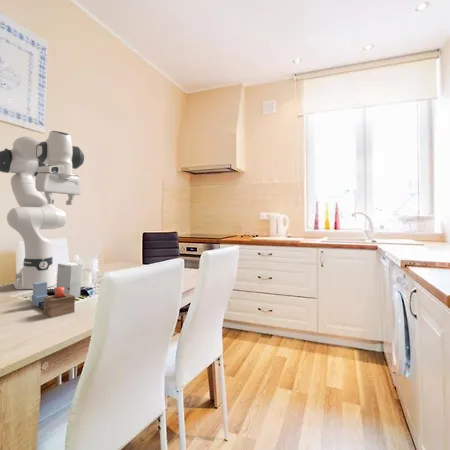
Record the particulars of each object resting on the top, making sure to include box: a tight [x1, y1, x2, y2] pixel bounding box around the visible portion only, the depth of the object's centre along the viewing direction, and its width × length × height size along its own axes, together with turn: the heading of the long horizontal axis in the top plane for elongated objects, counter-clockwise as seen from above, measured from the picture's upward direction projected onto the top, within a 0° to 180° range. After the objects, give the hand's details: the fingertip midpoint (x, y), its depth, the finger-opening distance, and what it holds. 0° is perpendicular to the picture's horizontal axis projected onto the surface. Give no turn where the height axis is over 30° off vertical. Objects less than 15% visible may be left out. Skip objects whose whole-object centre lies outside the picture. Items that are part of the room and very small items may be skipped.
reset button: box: [54, 286, 64, 297], centre depth 108 cm, size 3×3×3 cm
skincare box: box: [56, 261, 83, 299], centre depth 128 cm, size 8×6×15 cm
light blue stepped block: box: [31, 281, 49, 308], centre depth 115 cm, size 5×4×8 cm
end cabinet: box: [43, 293, 76, 319], centre depth 108 cm, size 6×8×6 cm
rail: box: [35, 302, 44, 311], centre depth 113 cm, size 13×2×2 cm, turn 52°
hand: (60, 204), depth 122 cm, fingers open, 8 cm apart
